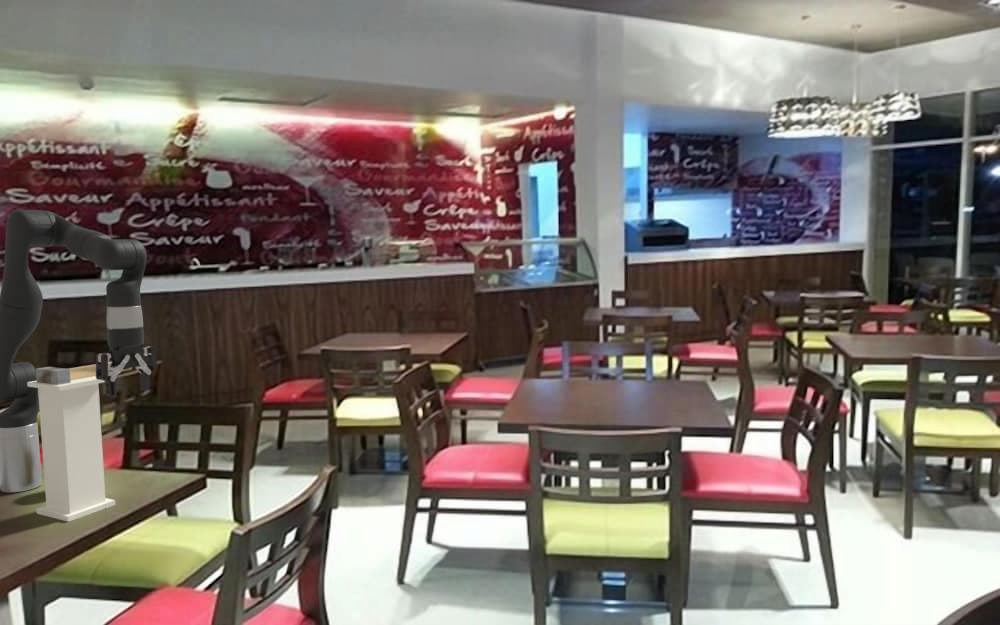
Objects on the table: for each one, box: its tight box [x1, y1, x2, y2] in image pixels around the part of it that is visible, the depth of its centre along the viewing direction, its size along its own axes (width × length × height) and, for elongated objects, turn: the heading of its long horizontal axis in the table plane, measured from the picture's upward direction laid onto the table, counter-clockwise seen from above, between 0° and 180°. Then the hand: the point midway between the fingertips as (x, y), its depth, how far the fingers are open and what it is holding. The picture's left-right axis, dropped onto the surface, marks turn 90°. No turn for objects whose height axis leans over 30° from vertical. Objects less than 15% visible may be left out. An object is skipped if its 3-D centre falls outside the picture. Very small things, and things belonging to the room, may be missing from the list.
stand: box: [27, 376, 116, 522], centre depth 175 cm, size 12×12×32 cm
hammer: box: [35, 361, 133, 385], centre depth 179 cm, size 8×21×3 cm, turn 154°
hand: (128, 393), depth 171 cm, fingers open, 8 cm apart
